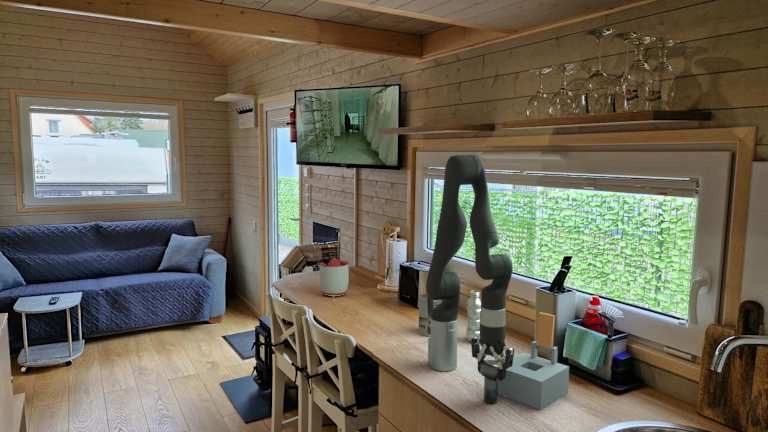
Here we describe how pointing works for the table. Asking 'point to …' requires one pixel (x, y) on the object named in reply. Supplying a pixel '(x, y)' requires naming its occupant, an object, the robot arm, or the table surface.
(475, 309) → the plastic bottle
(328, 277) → the pale green pot
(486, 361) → the pin
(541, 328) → the tan flat wooden board
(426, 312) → the coffee box
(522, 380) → the block
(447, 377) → the table surface
